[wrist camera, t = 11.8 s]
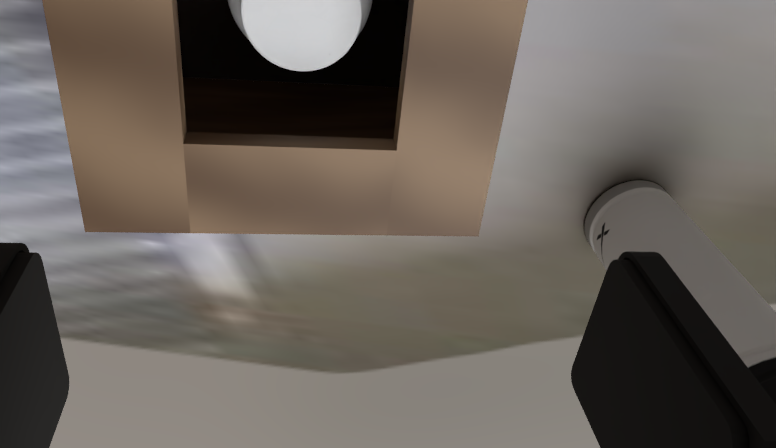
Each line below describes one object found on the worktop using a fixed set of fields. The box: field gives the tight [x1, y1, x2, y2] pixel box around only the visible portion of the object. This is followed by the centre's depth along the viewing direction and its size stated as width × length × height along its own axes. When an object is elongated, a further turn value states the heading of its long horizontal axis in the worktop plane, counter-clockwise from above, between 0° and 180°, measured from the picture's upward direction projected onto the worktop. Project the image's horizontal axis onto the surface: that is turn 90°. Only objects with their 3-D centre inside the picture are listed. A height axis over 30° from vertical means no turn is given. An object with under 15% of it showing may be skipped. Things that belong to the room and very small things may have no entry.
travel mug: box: [584, 180, 776, 404], centre depth 39 cm, size 6×7×20 cm
